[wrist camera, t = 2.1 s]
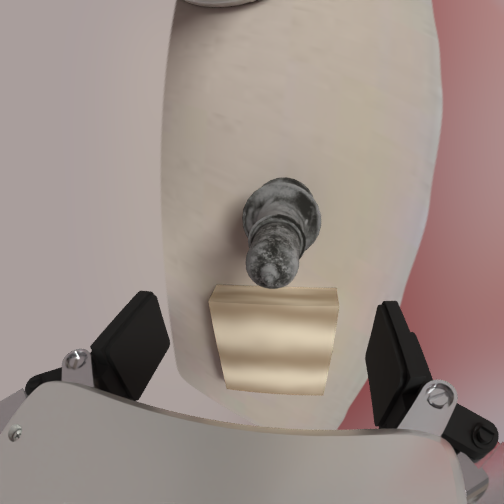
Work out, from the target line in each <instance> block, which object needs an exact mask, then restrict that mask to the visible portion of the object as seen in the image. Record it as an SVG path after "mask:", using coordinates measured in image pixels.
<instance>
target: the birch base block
mask: <svg viewBox="0 0 504 504" xmlns="http://www.w3.org/2000/svg"><path fill="white" fill-rule="evenodd" d="M208 303H209V308H210V313H211V318H212V323H213V328H214V333H215V338H216V343H217V348H218V352H219V357H220V361H221V366H222V370H223V375H224V379H225V383H226V388H227V389H231V390H239V391H248V392H259V393H271V394H287V395H323V394H324V389H325V385H326V380H327V375H328V370H329V365H330V360H331V355H332V349H333V343H334V337H335V331H336V325H337V318H338V311H339V302H338V295H337V289H336V288H304V287H282V288H278V289H268V288H263V287H261V286H240V285H218V284H217V285H216V287H215V289H214V291H213V293H212V295H211V297H210V299H209V301H208Z"/></svg>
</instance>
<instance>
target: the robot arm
mask: <svg viewBox="0 0 504 504" xmlns="http://www.w3.org/2000/svg"><path fill="white" fill-rule="evenodd" d="M184 1H186V2H188V3H192V4H195V5H198V6H207V7H227V6H235V5H241V4H245V3H249V2H253V1H256V0H184ZM169 345H170V340H169V337H168V334H167V330H166V327H165V324H164V320H163V317H162V314H161V310H160V307H159V303H158V300H157V297H156V296H155V295H154V294H153V293H152V292H149V291H139V292H138V293H137V294H136V295H135V296H134V297H133V298H132V300H131V301H130V302H129V303H128V304H127V305H126V306H125V307H124V308H123V309H122V311H121V312H120V313H119V314H118V315H117V316H116V317H115V318H114V320H113V321H112V322H111V323H110V324H109V325H108V326H107V328H106V329H105V330H104V331H103V332H102V333H101V334H100V336H99V337H98V338H97V339H96V340H95V342H94V343H93V344H92V345H91V346H90V347H91V349H92V352H91V353H89V352H88V351H87V350H85V349H77V350H74V351H71V352H70V353H68V354H67V355H66V356H65V358H64V359H63V362H62V367H61V368H58V369H55V370H52V371H48V372H45V373H42V374H39V375H36V376H34V377H32V378H31V379H30V380H29V381H28V382H27V384H26V387H25V391H24V389H21V390H19V391H17V392H16V393H14V394H12V395H11V396H9V397H7V398H6V399H4V400H2V401H0V504H504V442H502V443H501V444H500V443H499V442H498V431H497V428H496V427H495V425H494V424H493V423H491V422H490V421H488V420H486V419H484V418H482V417H481V416H479V415H477V414H476V413H474V412H472V411H470V410H468V409H467V408H465V407H463V406H461V405H459V404H458V403H457V399H458V397H457V392H456V390H455V388H454V387H453V386H452V385H451V384H449V383H448V382H446V381H443V380H433V379H432V376H431V373H430V371H429V368H428V365H427V363H426V360H425V357H424V355H423V352H422V349H421V347H420V344H419V342H418V339H417V337H416V335H415V333H413V332H410V330H409V328H408V326H407V323H406V321H405V318H404V316H403V314H402V311H401V309H400V307H399V304H398V302H397V301H383V303H382V305H378V307H377V311H376V315H375V320H374V324H373V328H372V332H371V336H370V340H369V344H368V347H367V351H366V357H365V360H366V366H367V372H368V379H369V385H370V392H371V399H372V406H373V414H374V423H375V426H379V429H360V430H359V429H358V430H301V429H282V428H270V427H259V426H250V425H242V424H235V423H228V422H221V421H216V420H210V419H204V418H200V417H195V416H190V415H186V414H181V413H177V412H173V411H168V410H165V409H160V408H157V407H153V406H150V405H146V404H143V403H139V402H136V400H139V398H140V397H141V395H142V393H143V391H144V389H145V388H146V386H147V384H148V383H149V381H150V379H151V377H152V375H153V374H154V372H155V371H156V369H157V367H158V365H159V363H160V362H161V360H162V358H163V357H164V355H165V353H166V352H167V350H168V348H169ZM465 490H466V492H465ZM466 493H467V497H466Z"/></svg>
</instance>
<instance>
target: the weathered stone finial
mask: <svg viewBox="0 0 504 504" xmlns="http://www.w3.org/2000/svg"><path fill="white" fill-rule="evenodd" d="M242 220H243V228H244V230H245V233H246V235H247V237H248V244H249V251H248V253H247V256H246V270H247V273H248V275H249V277H250V278H251V279H252V281H253V282H255V283H256V284H257V285H259V286H261V287H263V288H268V289H278V288H282V287H284V286H286V285H288V284H289V283H290V282H291V281H292V280H293V279H294V277H295V276H296V274H297V271H298V268H299V259H300V258H301V257H302V255H303V253H304V251H305V250H307V249H308V248H309V247H310V246H311V245H312V244H313V243H314V241H315V240H316V238H317V236H318V235H319V231H320V227H321V214H320V211H319V207H318V205H317V203H316V202H315V200H314V199H313V195H312V194H311V192H310V191H309V189H308V188H307V187H306V186H305V185H303V184H302V183H301V182H299V181H297V180H295V179H291V178H277V179H273V180H270V181H269V182H267V183H266V184H264V185H263V186H262V187H261V188H260V189H258V190H256V191H255V192H254V193H253V194H252V195H251V197H250V198H249V199H248V200H247V203H246V205H245V207H244V210H243V217H242Z"/></svg>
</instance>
